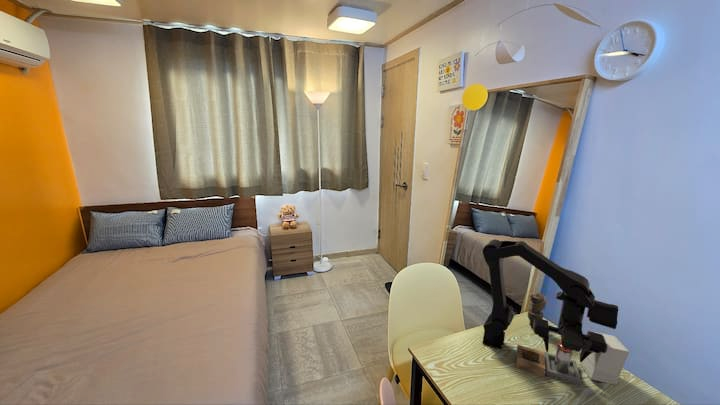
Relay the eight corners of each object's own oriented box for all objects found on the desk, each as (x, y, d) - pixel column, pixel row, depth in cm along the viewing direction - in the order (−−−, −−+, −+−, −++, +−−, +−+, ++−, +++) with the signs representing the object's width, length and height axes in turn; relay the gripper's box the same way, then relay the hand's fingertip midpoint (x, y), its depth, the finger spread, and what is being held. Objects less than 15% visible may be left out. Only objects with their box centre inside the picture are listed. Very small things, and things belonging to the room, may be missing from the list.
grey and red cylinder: (554, 370, 95) (558, 347, 93) (552, 362, 98) (557, 339, 96) (568, 375, 93) (573, 352, 91) (567, 366, 96) (571, 343, 94)
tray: (545, 374, 94) (546, 370, 94) (543, 356, 102) (544, 351, 101) (579, 385, 90) (580, 381, 89) (575, 365, 98) (576, 361, 97)
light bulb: (536, 322, 119) (541, 290, 115) (545, 332, 113) (551, 298, 110) (522, 323, 119) (527, 290, 115) (531, 332, 113) (536, 298, 109)
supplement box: (616, 385, 90) (630, 352, 86) (590, 379, 91) (603, 346, 88) (602, 366, 97) (615, 335, 94) (578, 361, 98) (589, 330, 95)
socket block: (516, 367, 97) (517, 359, 96) (516, 351, 104) (517, 344, 103) (544, 376, 93) (545, 368, 93) (542, 359, 100) (543, 352, 99)
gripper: (538, 320, 88) (531, 362, 92) (617, 340, 79) (605, 386, 83) (536, 301, 97) (530, 340, 101) (607, 317, 89) (597, 360, 93)
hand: (563, 356), depth 94 cm, fingers open, 9 cm apart
